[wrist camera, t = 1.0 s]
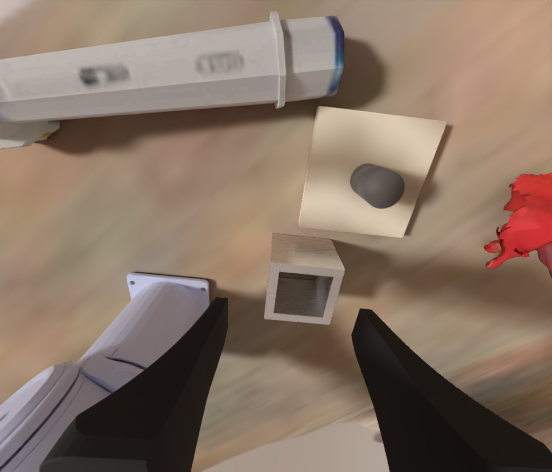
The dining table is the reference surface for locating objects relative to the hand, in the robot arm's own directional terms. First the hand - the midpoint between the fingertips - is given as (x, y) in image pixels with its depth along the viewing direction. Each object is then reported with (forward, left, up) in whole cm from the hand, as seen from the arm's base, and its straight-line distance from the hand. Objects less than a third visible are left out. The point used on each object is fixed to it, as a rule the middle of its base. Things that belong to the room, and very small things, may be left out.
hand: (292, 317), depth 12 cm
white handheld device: (+11, +11, -10) cm, 18 cm away
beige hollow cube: (-2, -1, -9) cm, 10 cm away
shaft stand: (+6, -5, -9) cm, 13 cm away
